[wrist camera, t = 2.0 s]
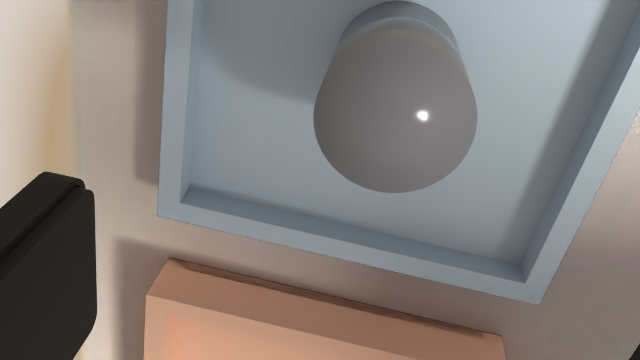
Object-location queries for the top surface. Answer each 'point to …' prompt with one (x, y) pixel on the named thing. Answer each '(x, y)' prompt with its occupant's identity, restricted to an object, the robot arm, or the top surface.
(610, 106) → the parts tray
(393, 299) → the top surface
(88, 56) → the top surface
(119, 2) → the top surface
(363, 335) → the terracotta dish
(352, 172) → the gray metal cylinder
